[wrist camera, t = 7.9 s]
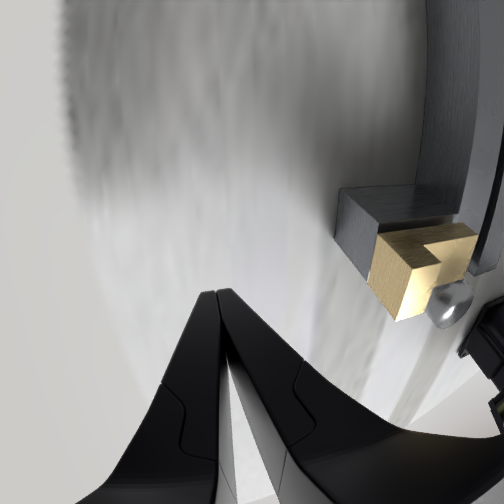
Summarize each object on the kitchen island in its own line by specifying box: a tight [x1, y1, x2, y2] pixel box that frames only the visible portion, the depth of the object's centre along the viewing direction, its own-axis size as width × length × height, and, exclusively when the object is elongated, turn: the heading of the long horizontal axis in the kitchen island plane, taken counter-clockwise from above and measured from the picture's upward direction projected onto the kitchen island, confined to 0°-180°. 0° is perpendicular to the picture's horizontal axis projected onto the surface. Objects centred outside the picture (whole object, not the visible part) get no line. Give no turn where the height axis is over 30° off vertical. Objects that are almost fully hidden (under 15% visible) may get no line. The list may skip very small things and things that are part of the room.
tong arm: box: [425, 125, 504, 329], centre depth 10 cm, size 4×21×3 cm, turn 4°
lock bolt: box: [367, 222, 478, 322], centre depth 10 cm, size 4×2×2 cm, turn 92°
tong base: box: [334, 0, 504, 289], centre depth 8 cm, size 6×18×3 cm, turn 2°
